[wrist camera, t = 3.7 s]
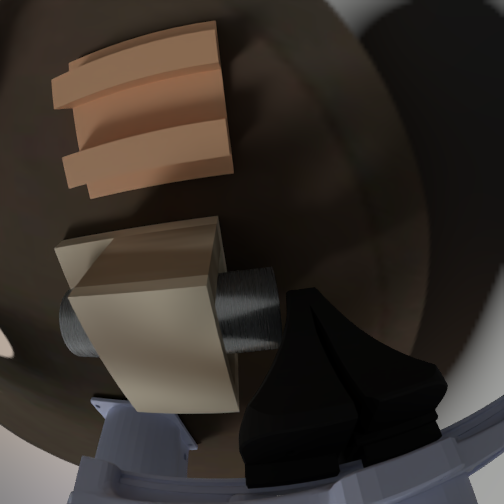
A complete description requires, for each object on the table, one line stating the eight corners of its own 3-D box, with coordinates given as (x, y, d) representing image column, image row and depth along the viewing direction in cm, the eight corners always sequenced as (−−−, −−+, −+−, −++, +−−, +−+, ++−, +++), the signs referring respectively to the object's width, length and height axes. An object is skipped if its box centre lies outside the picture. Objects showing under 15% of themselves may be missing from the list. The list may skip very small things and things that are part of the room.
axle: (269, 252, 13) (280, 298, 10) (274, 313, 15) (283, 364, 12) (80, 274, 13) (49, 315, 10) (103, 326, 15) (82, 370, 12)
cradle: (233, 171, 12) (233, 181, 10) (94, 195, 12) (74, 210, 10) (216, 23, 9) (212, 7, 7) (73, 64, 9) (50, 60, 7)
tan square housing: (237, 328, 16) (239, 412, 11) (104, 335, 16) (74, 404, 11) (218, 215, 13) (206, 285, 8) (62, 240, 13) (3, 300, 8)
